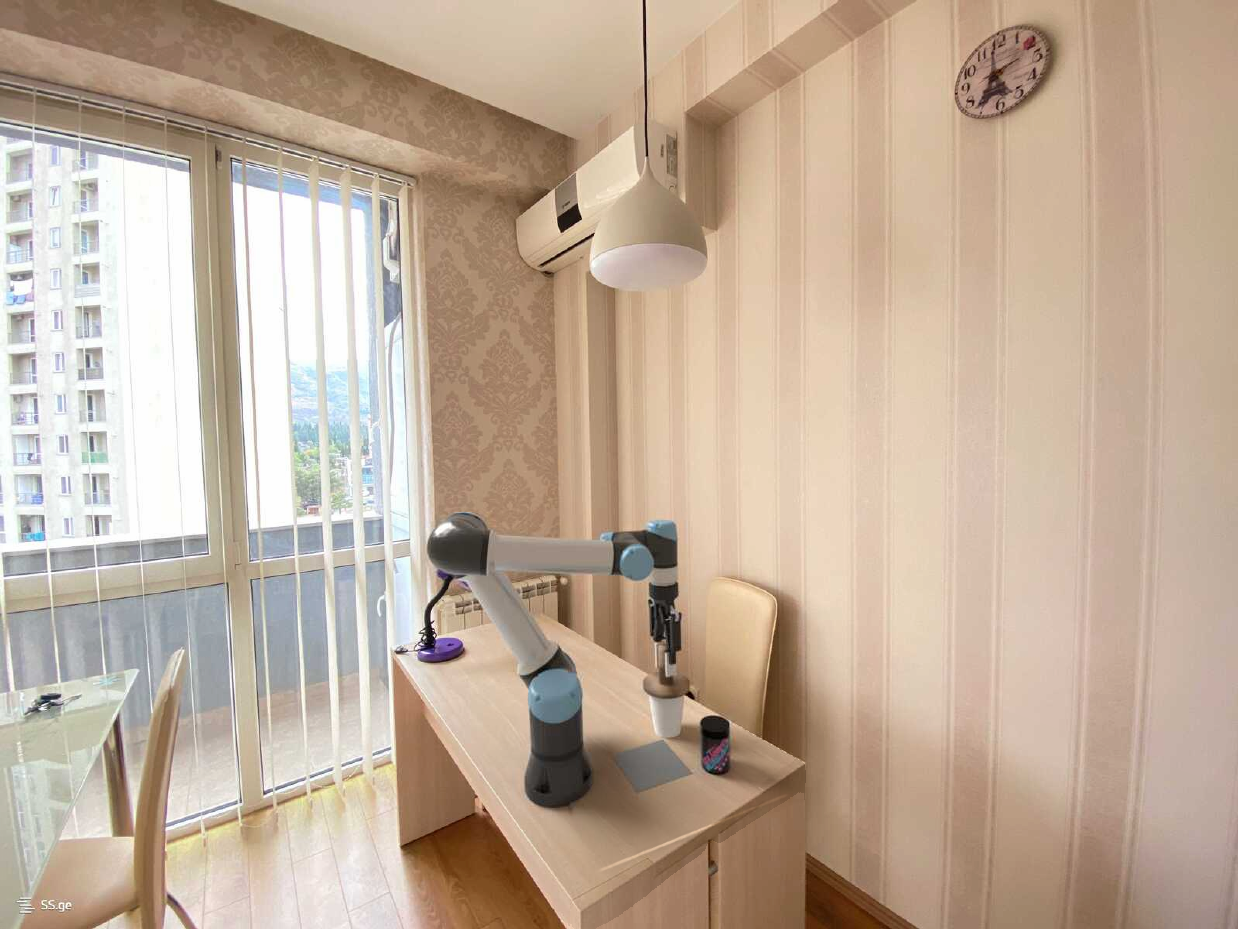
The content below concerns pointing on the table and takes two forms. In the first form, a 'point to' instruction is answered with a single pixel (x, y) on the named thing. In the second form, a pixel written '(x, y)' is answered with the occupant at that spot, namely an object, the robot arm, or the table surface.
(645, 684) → the lid
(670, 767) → the mat
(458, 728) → the table surface
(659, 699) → the cup
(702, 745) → the supplement container
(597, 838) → the table surface
